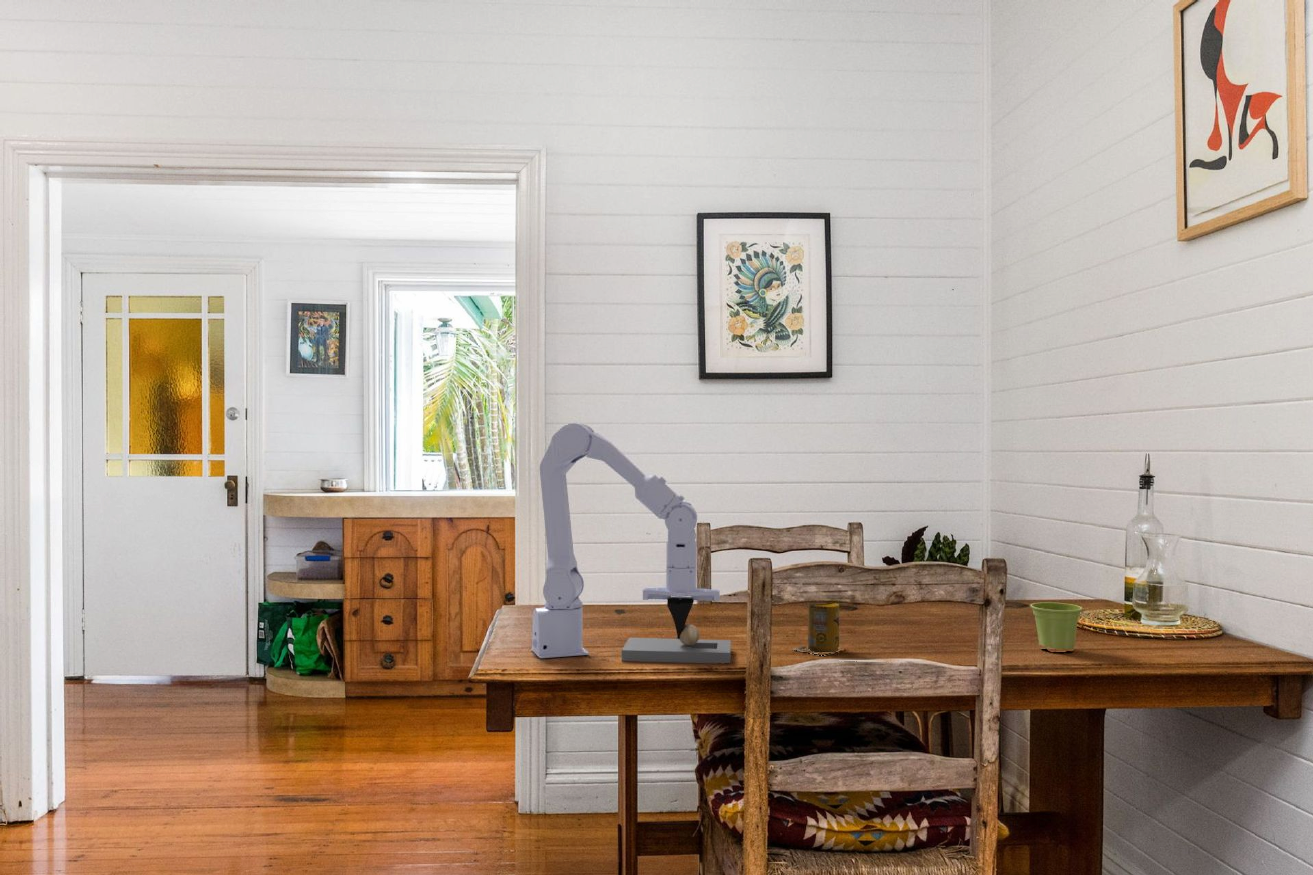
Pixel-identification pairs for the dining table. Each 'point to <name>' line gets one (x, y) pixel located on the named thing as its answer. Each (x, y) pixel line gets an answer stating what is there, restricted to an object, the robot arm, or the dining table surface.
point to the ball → (689, 635)
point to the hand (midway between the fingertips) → (680, 638)
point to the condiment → (822, 628)
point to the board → (676, 651)
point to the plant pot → (1056, 624)
